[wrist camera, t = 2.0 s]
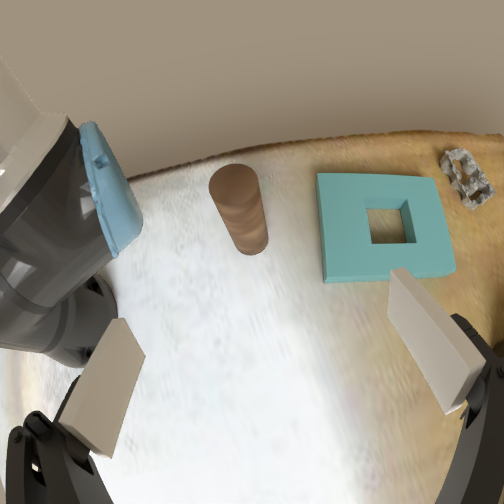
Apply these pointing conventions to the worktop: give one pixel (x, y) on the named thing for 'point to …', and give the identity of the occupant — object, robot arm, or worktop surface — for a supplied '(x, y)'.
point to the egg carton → (473, 183)
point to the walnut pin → (240, 206)
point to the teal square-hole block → (358, 233)
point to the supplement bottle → (499, 349)
